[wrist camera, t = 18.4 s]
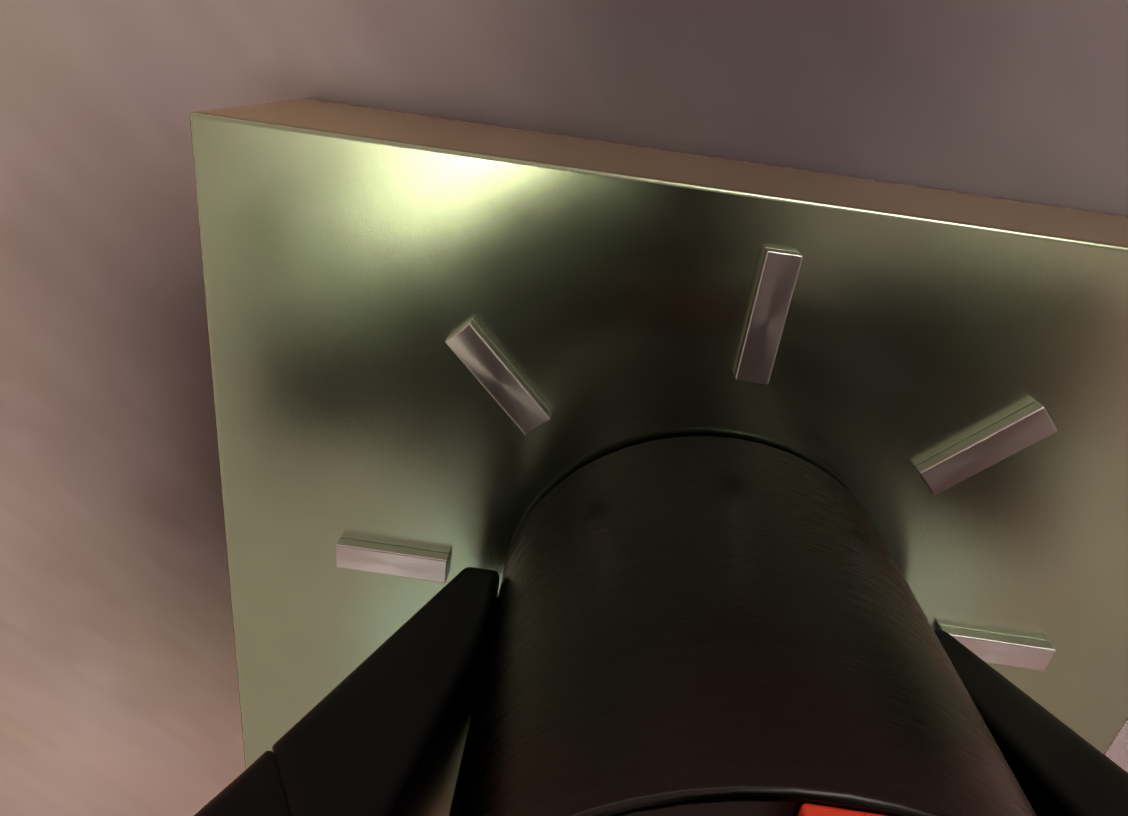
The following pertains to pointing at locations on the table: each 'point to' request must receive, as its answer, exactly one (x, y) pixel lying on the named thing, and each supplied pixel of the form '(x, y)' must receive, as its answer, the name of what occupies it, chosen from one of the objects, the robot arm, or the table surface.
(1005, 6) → the table surface
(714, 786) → the dial
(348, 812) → the robot arm
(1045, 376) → the panel
